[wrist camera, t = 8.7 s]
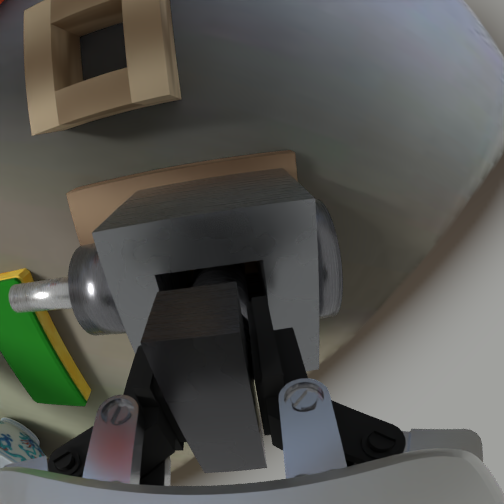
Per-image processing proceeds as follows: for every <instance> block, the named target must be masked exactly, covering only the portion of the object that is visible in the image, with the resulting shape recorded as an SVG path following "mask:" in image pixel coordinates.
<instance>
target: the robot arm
mask: <svg viewBox="0 0 504 504" xmlns="http://www.w3.org/2000/svg"><path fill="white" fill-rule="evenodd" d="M246 307H247V316H248V325H249V335H250V344H251V353H252V362H253V371H254V378H255V385H256V391H257V396H258V402H259V407H260V412H261V418H262V423H263V429H264V434H265V435H271V437H272V444H273V445H274V446H276V447H277V448H279V449H281V450H283V451H284V462H285V472H286V479H281V480H274V481H266V482H257V483H247V484H235V485H218V486H170V464H171V461H170V455H172V454H173V453H174V452H175V450H183V446H184V442H187V441H186V439H185V437H184V435H183V433H182V431H181V430H180V428H179V426H178V424H177V422H176V420H175V418H174V416H173V414H172V412H171V410H170V408H169V406H168V404H167V402H166V400H165V398H164V395H163V393H162V391H161V389H160V387H159V385H158V383H157V380H156V378H155V376H154V374H153V371H152V369H151V367H150V365H149V362H148V360H147V358H146V355H145V353H144V350H143V348H142V346H141V345H140V346H138V348H137V351H136V354H135V357H134V361H133V364H132V367H131V370H130V374H129V377H128V380H127V384H126V387H125V391H124V394H123V395H117V396H113V397H111V398H108V399H107V400H105V401H104V402H103V403H102V404H101V405H100V407H99V409H98V411H97V414H96V418H95V422H94V426H92V427H91V428H89V429H88V430H86V431H85V432H83V433H82V434H80V435H78V436H77V437H75V438H74V439H72V440H71V441H69V442H67V443H66V444H64V445H63V446H61V447H59V448H58V449H56V450H55V451H54V452H53V453H52V455H51V456H50V458H48V457H47V456H43V457H38V458H34V459H30V460H25V461H21V462H16V463H11V464H8V465H5V466H4V467H3V468H0V504H504V493H503V492H502V490H501V488H500V486H499V484H498V483H497V481H496V479H495V478H494V476H493V475H492V474H491V472H490V470H489V469H488V468H487V467H486V465H485V464H484V463H483V451H482V442H481V438H480V437H479V436H478V435H477V433H475V432H473V431H472V430H468V429H411V431H410V432H406V431H401V430H400V429H399V428H398V427H396V426H394V425H393V424H390V423H387V422H385V421H382V420H379V419H377V418H374V417H371V416H369V415H366V414H364V413H361V412H359V411H356V410H354V409H351V408H349V407H346V406H344V405H341V404H339V403H336V402H334V401H332V400H331V398H330V394H329V391H328V389H327V387H326V386H324V385H323V384H322V383H321V382H319V381H317V380H313V379H309V378H308V377H307V373H306V370H305V367H304V363H303V360H302V356H301V353H300V349H299V346H298V343H297V339H296V336H295V333H294V329H293V328H292V327H291V328H284V329H278V330H273V325H272V320H271V316H270V311H269V306H268V301H267V297H266V296H259V297H252V302H246Z"/></svg>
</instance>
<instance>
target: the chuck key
mask: <svg viewBox="0 0 504 504" xmlns="http://www.w3.org/2000/svg"><path fill="white" fill-rule="evenodd" d="M246 302H249V297H248V289H247V281H246V273H245V264H244V263H237V264H230V265H223V266H216V267H209V268H201V269H194V272H193V278H192V283H191V288H183V289H175V290H167V291H159V292H157V294H156V297H155V300H154V303H153V306H152V309H151V312H150V315H149V317H148V320H147V324H146V327H145V330H144V333H143V336H142V339H141V342H140V343H141V346H142V348H143V350H144V353H145V355H146V358H147V360H148V362H149V365H150V367H151V369H152V371H153V374H154V376H155V378H156V380H157V383H158V385H159V387H160V389H161V391H162V393H163V395H164V398H165V400H166V402H167V404H168V406H169V408H170V410H171V412H172V414H173V416H174V418H175V420H176V422H177V424H178V426H179V428H180V430H181V431H182V433H183V435H184V437H185V439H186V441H187V443H188V444H189V446H190V448H191V450H192V452H193V453H194V455H195V457H196V459H197V460H198V462H199V464H200V466H201V467H202V469H203V471H204V472H205V473H212V472H229V471H241V470H251V469H260V468H267V465H266V457H265V450H264V441H263V433H262V425H261V419H260V413H259V408H258V402H257V397H256V391H255V386H254V379H255V378H254V371H253V362H252V353H251V344H250V335H249V325H248V316H247V307H246Z"/></svg>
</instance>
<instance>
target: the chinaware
mask: <svg viewBox="0 0 504 504" xmlns="http://www.w3.org/2000/svg"><path fill="white" fill-rule="evenodd" d="M39 445H40V442H39V439H38V438H37V437H36V435H35V434H34V433H33V432H32V431H30V430H29V429H28V428H27V427H25V426H24V425H22V424H21V423H19V422H17V421H15V420H13V419H10V418H6V417H4V418H2V419H1V420H0V468H3V467H4V466H5V465H8V464H11V463H16V462H21V461H25V460H30V459H34V458H38V457H43V456H45V454H44V453H43V451H42V450H41V448H40V447H39Z"/></svg>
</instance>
